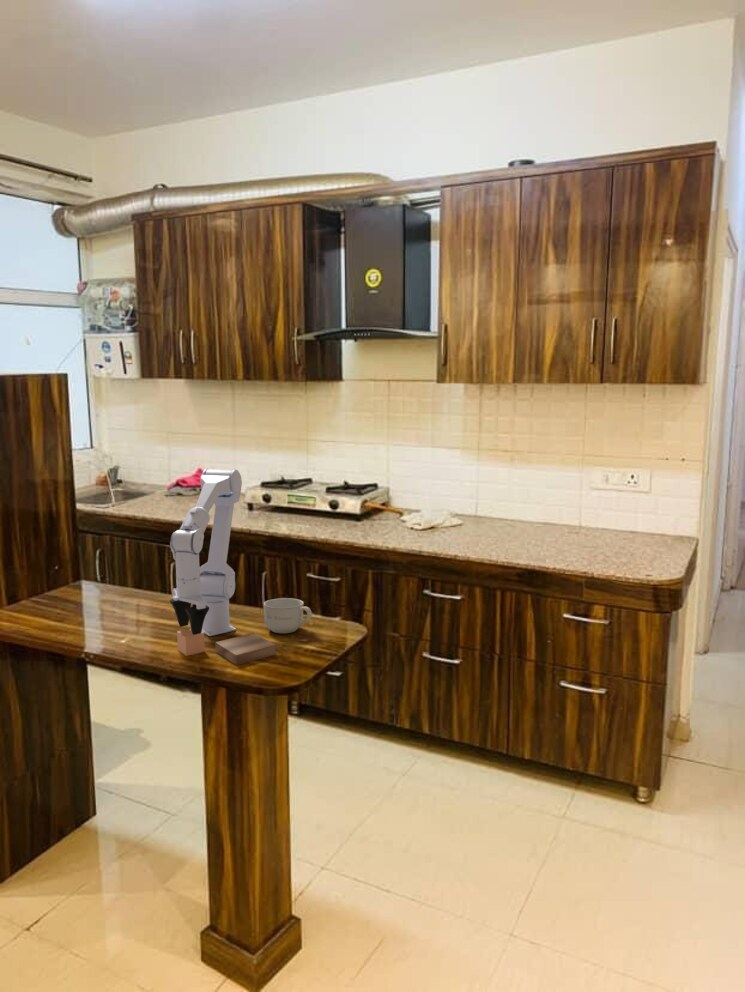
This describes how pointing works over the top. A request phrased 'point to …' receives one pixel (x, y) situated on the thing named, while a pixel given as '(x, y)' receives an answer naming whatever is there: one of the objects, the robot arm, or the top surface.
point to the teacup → (285, 614)
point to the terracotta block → (190, 642)
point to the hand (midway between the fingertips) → (190, 629)
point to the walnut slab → (245, 648)
